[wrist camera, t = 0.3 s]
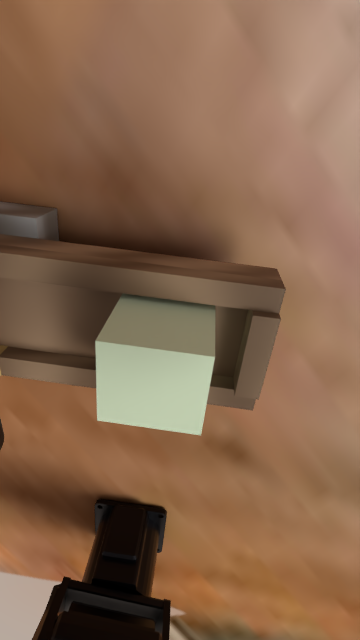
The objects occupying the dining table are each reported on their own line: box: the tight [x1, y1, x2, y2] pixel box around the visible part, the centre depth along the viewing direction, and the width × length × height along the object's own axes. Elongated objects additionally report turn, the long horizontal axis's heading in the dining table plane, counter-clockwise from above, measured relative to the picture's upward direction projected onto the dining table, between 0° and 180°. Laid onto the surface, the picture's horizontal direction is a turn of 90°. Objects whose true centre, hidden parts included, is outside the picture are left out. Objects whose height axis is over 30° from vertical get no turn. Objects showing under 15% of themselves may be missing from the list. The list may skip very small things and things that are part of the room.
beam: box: [0, 202, 286, 410], centre depth 19 cm, size 28×9×6 cm, turn 84°
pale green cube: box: [95, 293, 215, 435], centre depth 15 cm, size 4×4×4 cm
